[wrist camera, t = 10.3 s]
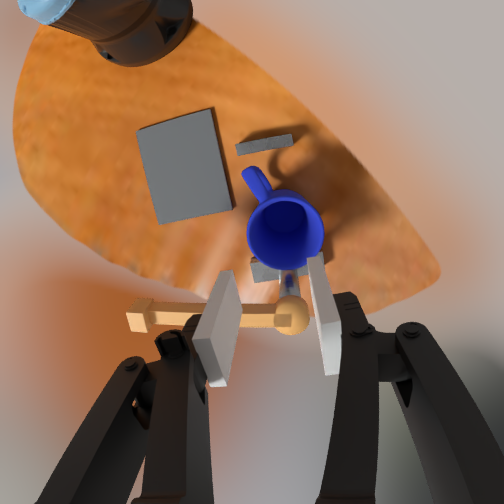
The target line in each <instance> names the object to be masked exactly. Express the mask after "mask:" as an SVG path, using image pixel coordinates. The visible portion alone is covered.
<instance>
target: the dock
mask: <svg viewBox="0 0 504 504" xmlns="http://www.w3.org/2000/svg"><path fill="white" fill-rule="evenodd" d="M293 145H294V144H293V139H292V134H286V135H281V136H275V137H269V138H264V139H259V140H254V141H249V142H244V143H239V144H235V146H236V150H237V155H238V156H240V155H245V154H250V153H255V152H260V151H265V150H270V149H276V148H281V147H287V146H293ZM317 256H320V258H321V261H322V264H323V267H324V270H325V266H324V258H323V251H322V249H320V251H319V253H318V254H317ZM250 265H251V270H252V274H253V278H254V283H258V282H265V281H271V280H277V279H279V299H280V298H282V297H284V296H287V295H296V296H299V297H301V294H300V287H299V279H298V276H303V275H309V272H308V265H307V264H306V265H305V266H303V267H300V268H298V269H294V270H277V269H273V268H270V267H268V266H266V265H264V264H263V263H261V262H260V261H259V260H258V259H257V258H251V262H250Z"/></svg>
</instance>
